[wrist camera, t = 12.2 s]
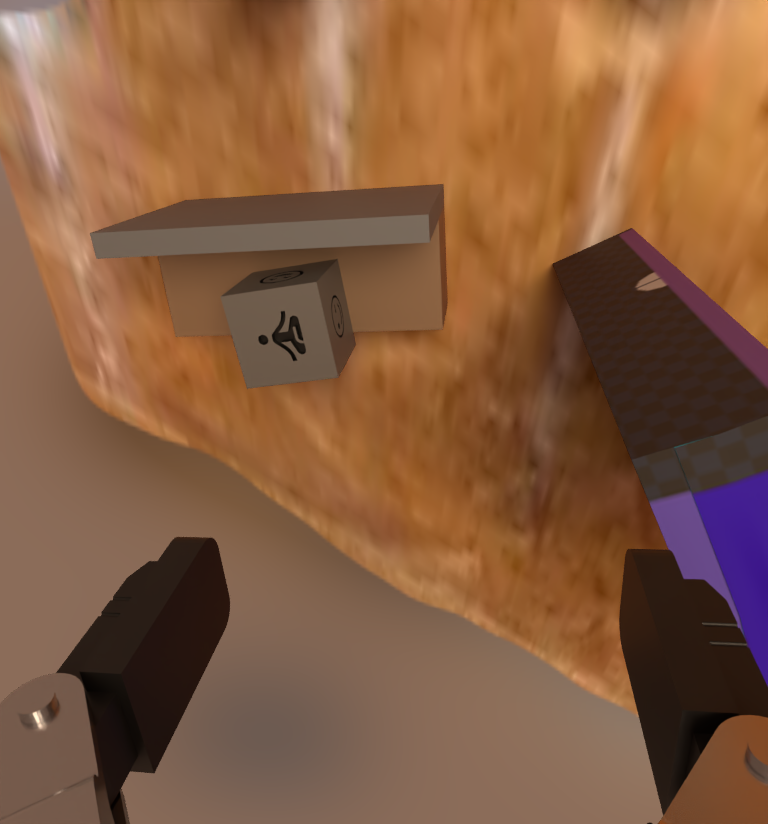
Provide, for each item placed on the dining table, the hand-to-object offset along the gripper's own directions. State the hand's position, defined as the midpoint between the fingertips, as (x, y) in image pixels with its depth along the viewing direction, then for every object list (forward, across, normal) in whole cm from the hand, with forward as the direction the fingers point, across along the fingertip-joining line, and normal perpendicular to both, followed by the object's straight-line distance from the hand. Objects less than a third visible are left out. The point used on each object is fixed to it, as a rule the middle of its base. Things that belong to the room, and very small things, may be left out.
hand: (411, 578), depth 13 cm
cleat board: (+30, +9, 0) cm, 31 cm away
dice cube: (+25, +9, +2) cm, 27 cm away
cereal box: (+30, -11, +8) cm, 33 cm away
